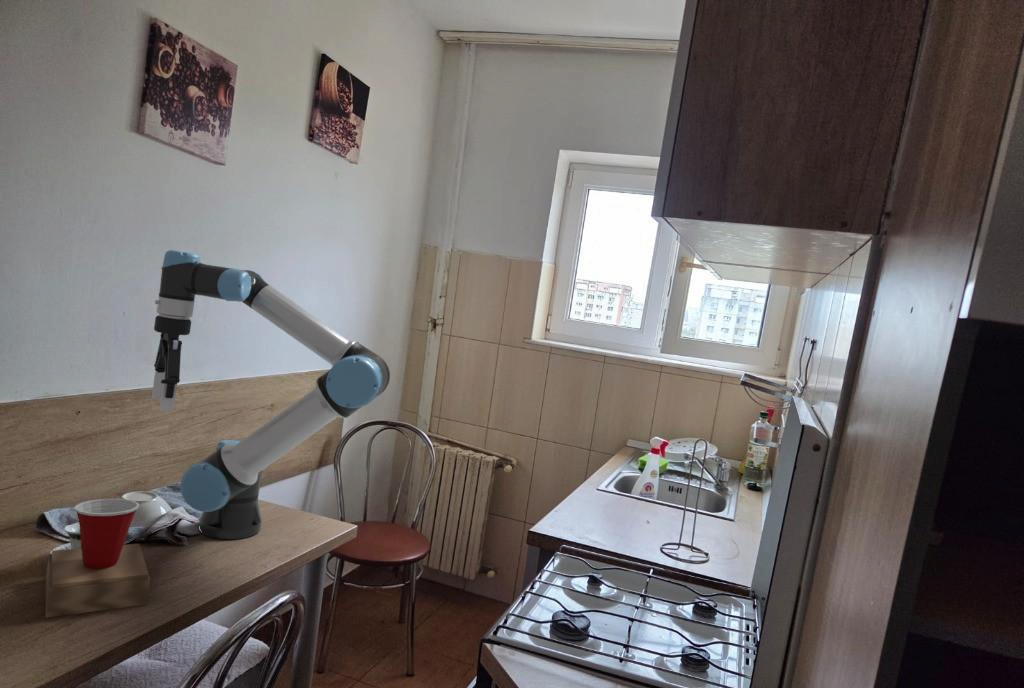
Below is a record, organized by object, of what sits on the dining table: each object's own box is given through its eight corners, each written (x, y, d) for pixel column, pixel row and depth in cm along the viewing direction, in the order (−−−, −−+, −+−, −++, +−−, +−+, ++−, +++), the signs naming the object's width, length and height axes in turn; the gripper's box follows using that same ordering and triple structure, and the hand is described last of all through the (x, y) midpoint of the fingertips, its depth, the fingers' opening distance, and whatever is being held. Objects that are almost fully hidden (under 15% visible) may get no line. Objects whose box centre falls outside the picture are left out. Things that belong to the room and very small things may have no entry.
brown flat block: (137, 569, 136) (141, 542, 136) (146, 604, 124) (150, 574, 123) (45, 578, 127) (49, 550, 126) (45, 617, 114) (49, 585, 114)
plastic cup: (124, 548, 132) (131, 492, 132) (138, 568, 125) (146, 510, 124) (61, 556, 125) (69, 497, 124) (72, 579, 117) (81, 516, 116)
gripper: (149, 309, 156) (137, 393, 158) (164, 320, 137) (150, 416, 138) (182, 313, 161) (171, 394, 162) (201, 324, 141) (188, 417, 142)
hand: (161, 404), depth 150 cm, fingers open, 13 cm apart
